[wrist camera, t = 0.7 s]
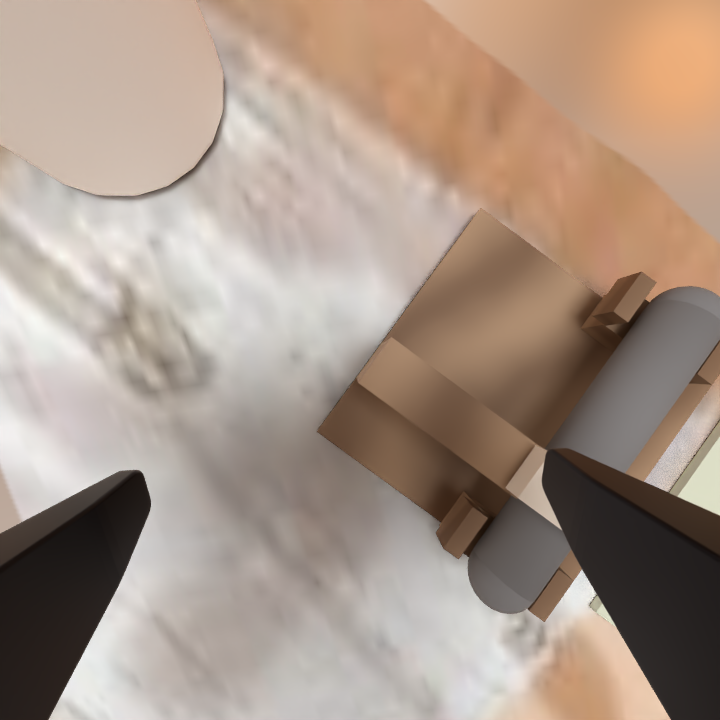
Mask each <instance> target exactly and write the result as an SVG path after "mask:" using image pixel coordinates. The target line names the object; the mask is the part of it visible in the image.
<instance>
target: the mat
mask: <svg viewBox="0 0 720 720" xmlns="http://www.w3.org/2000/svg"><path fill="white" fill-rule="evenodd" d="M669 493H670V494H673V495H675V496H677V497H679V498H682V499H684V500H686V501H688V502H691V503H693V504H695V505H697V506H700V507H702V508H704V509H706V510H709V511H711V512H713V513H715V514H718V515H720V421H719V422H718V424H717V425H716V427H715V428H714V430H713V431H712V432H711V434H710V435H709V437H708V438H707V439H706V441H705V442H704V444H703V445H702V447H701V448H700V449H699V451H698V452H697V454H696V455H695V457H694V458H693V459H692V461H691V462H690V464H689V465H688V466H687V468H686V469H685V471H684V472H683V474H682V475H681V476H680V478H679V479H678V481H677V482H676V484H675V485H674V486H673V488H672V489H671V491H670V492H669ZM590 607H591V608H592V609H593V610H594V611H595V612H596V613H597V614H599V615H600V616H601V617H603V618H604V619H606V620H607V621H608V622H610V623H611V624H612V625H614V626H615V624H614V622H613V621H612V619H611V617H610V616H609V614H608V612H607V610H606V609H605V607H604V605H603V604H602V602H601V600H600V599H599V597H598V595H597V596H596V597H595V599H594V600H593V601H592V603H591V604H590ZM615 627H616V626H615ZM616 628H617V627H616Z"/></svg>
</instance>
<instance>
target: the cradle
mask: <svg viewBox="0 0 720 720" xmlns="http://www.w3.org/2000/svg"><path fill="white" fill-rule="evenodd" d="M655 284H656V282H655V281H654V280H652V279H651V278H650V277H648V276H647V275H646V274H644V273H643V272H639V273H636V274H633V275H630V276H627V277H623V278H620V279H618V280H617V281H616V283H615V284H614V286H613V287H612V288H611V290H610V291H609V293H608V294H607V295H604V296H603V298H602V297H600V296H599V295H598V294H596V293H595V292H594V291H592V290H591V289H590V288H588V287H587V286H585V285H584V284H583V283H581V282H580V281H579V280H577V279H576V278H575V277H573V276H572V275H571V274H569V273H568V272H567V271H565V270H564V269H563V268H561V267H560V266H559V265H557V264H556V263H555V262H553V261H552V260H550V259H549V258H548V257H546V256H545V255H544V254H542V253H541V252H540V251H538V250H537V249H536V248H534V247H533V246H532V245H530V244H529V243H528V242H526V241H525V240H524V239H522V238H521V237H520V236H518V235H517V234H515V233H514V232H513V231H511V230H510V229H509V228H507V227H506V226H505V225H503V224H502V223H501V222H499V221H498V220H497V219H495V218H494V217H493V216H491V215H490V214H489V213H487V212H486V211H485V210H483V209H482V208H480V210H479V211H478V212H477V213H476V215H475V216H474V217H473V219H472V220H471V221H470V223H469V224H468V225H467V227H466V228H465V230H464V231H463V232H462V234H461V235H460V236H459V238H458V239H457V240H456V242H455V243H454V245H453V246H452V247H451V249H450V250H449V251H448V253H447V254H446V255H445V257H444V258H443V260H442V261H441V262H440V264H439V265H438V266H437V268H436V269H435V270H434V272H433V273H432V275H431V276H430V277H429V279H428V280H427V281H426V283H425V284H424V285H423V287H422V288H421V290H420V291H419V292H418V294H417V295H416V296H415V298H414V299H413V300H412V302H411V303H410V305H409V306H408V307H407V309H406V310H405V311H404V313H403V314H402V315H401V317H400V318H399V320H398V321H397V322H396V324H395V325H394V326H393V328H392V329H391V330H390V332H389V333H388V335H387V336H386V337H385V339H384V340H383V341H382V343H381V344H380V345H379V347H378V348H377V350H376V351H375V352H374V354H373V355H372V356H371V358H370V359H369V360H368V362H367V363H366V365H365V366H364V367H363V369H362V370H361V371H360V373H359V374H358V375H357V377H356V378H355V380H354V381H353V382H352V384H351V385H350V386H349V388H348V389H347V390H346V392H345V393H344V395H343V396H342V397H341V399H340V400H339V401H338V403H337V404H336V405H335V407H334V408H333V410H332V411H331V412H330V414H329V415H328V416H327V418H326V419H325V420H324V422H323V423H322V425H321V426H320V427H319V429H318V431H317V432H318V433H320V434H321V435H322V436H324V437H325V438H326V439H328V440H329V441H330V442H332V443H333V444H335V445H336V446H337V447H339V448H340V449H341V450H343V451H344V452H346V453H347V454H348V455H350V456H351V457H352V458H354V459H355V460H356V461H358V462H359V463H361V464H362V465H363V466H365V467H366V468H367V469H369V470H370V471H372V472H373V473H374V474H376V475H377V476H378V477H380V478H381V479H382V480H384V481H385V482H387V483H388V484H389V485H391V486H392V487H393V488H395V489H396V490H398V491H399V492H400V493H402V494H403V495H404V496H406V497H407V498H408V499H410V500H411V501H413V502H414V503H415V504H417V505H418V506H419V507H421V508H422V509H424V510H425V511H426V512H428V513H429V514H430V515H432V516H433V517H435V518H436V519H437V520H439V521H440V522H441V523H440V524H439V526H440V528H439V529H438V530H437V532H436V534H437V536H438V539H439V541H440V543H441V545H442V547H443V548H444V549H445V550H446V551H448V552H449V553H451V554H452V555H453V556H455V557H456V558H457V559H459V558H460V557H461V555H462V554H463V553H464V554H465V555H467V556H468V557H470V554H471V552H472V550H473V548H474V547H475V545H476V544H477V542H478V541H479V540H480V538H481V537H482V535H483V534H484V533H485V531H486V530H487V528H488V527H489V526H490V524H491V523H492V521H493V520H494V519H495V517H496V516H497V514H498V513H499V512H500V510H501V509H502V508H503V506H504V505H505V503H506V502H507V501H508V499H509V498H510V496H511V495H512V496H513V497H515V498H516V499H517V497H516V496H515V495H514V494H512V493H511V492H510V491H509V490H507V489H506V488H505V487H506V486H507V485H508V483H509V482H510V480H511V479H512V478H513V476H514V475H515V473H516V472H517V471H518V469H519V468H520V466H521V465H522V464H523V462H524V461H525V459H526V458H527V457H528V455H529V454H530V452H531V451H532V450H533V448H534V447H535V445H536V446H538V447H541V448H543V449H545V447H546V446H547V445H548V443H549V442H550V440H551V439H552V438H553V436H554V435H555V433H556V432H557V431H558V429H559V428H560V426H561V425H562V424H563V422H564V421H565V419H566V418H567V417H568V415H569V414H570V412H571V411H572V410H573V408H574V407H575V405H576V404H577V403H578V401H579V400H580V398H581V397H582V396H583V394H584V393H585V391H586V390H587V389H588V387H589V386H590V384H591V383H592V382H593V380H594V379H595V377H596V376H597V375H598V373H599V372H600V371H601V369H602V368H603V366H604V365H605V364H606V362H607V361H608V359H609V358H610V357H611V355H612V354H613V352H614V351H615V350H616V348H617V347H618V345H619V344H620V343H621V341H622V340H623V338H624V337H625V336H626V334H627V333H628V331H629V330H630V329H631V327H632V326H633V324H634V323H635V322H636V320H637V319H638V317H639V316H640V315H641V313H642V312H643V310H644V309H645V308H646V306H647V305H648V304H649V302H648V301H647V300H645V298H646V297H647V295H648V294H649V293H650V291H651V290H652V288H653V287H654V286H655ZM719 374H720V340H719V341H718V343H717V344H716V346H715V347H714V348H713V350H712V351H711V353H710V354H709V355H708V357H707V358H706V360H705V361H704V363H703V364H702V365H701V367H700V368H699V370H698V371H697V372H696V374H695V375H694V377H693V378H692V380H691V381H690V382H689V384H688V385H687V387H686V388H685V389H684V391H683V392H682V394H681V395H680V396H679V398H678V399H677V401H676V402H675V404H674V405H673V406H672V408H671V409H670V411H669V412H668V413H667V415H666V416H665V418H664V419H663V420H662V422H661V423H660V425H659V426H658V428H657V429H656V430H655V432H654V433H653V435H652V436H651V437H650V439H649V440H648V442H647V443H646V444H645V446H644V447H643V449H642V450H641V452H640V453H639V454H638V456H637V457H636V459H635V460H634V461H633V463H632V464H631V466H630V467H629V468H628V470H627V471H626V473H625V474H628V475H630V476H632V477H634V478H637V479H639V480H641V481H643V482H644V480H645V479H646V478H647V476H648V475H649V473H650V472H651V470H652V469H653V468H654V466H655V465H656V463H657V462H658V461H659V459H660V458H661V456H662V455H663V453H664V452H665V451H666V449H667V448H668V446H669V445H670V444H671V442H672V441H673V439H674V438H675V437H676V435H677V434H678V432H679V431H680V429H681V428H682V427H683V425H684V424H685V422H686V421H687V420H688V418H689V417H690V415H691V414H692V412H693V411H694V410H695V408H696V407H697V405H698V404H699V403H700V401H701V400H702V398H703V397H704V395H705V394H706V393H707V391H708V390H709V388H710V387H711V386H712V384H713V383H714V381H715V380H716V379H717V377H718V376H719ZM581 570H582V568H581V566H580V565H579V563H578V561H577V559H576V558H575V556H574V554H573V552H572V550H570V552H569V553H568V555H567V556H566V557H565V559H564V560H563V562H562V563H561V564H560V566H559V567H558V569H557V570H556V572H555V573H554V574H553V576H552V577H551V579H550V580H549V581H548V583H547V584H546V586H545V587H544V588H543V590H542V591H541V593H540V594H539V596H538V597H537V598H536V600H535V601H534V602H533V603H532V604H531V605H530V607H529V608H528V610H529V611H530V612H531V613H533V614H534V615H536V616H537V617H538V618H540V619H541V620H542V621H544V622H545V621H546V619H547V618H548V616H549V615H550V614H551V612H552V611H553V609H554V608H555V607H556V605H557V604H558V602H559V601H560V599H561V598H562V597H563V595H564V594H565V592H566V591H567V590H568V588H569V587H570V585H571V584H572V582H573V581H574V579H575V578H576V577H577V575H578V574H579V572H580V571H581Z"/></svg>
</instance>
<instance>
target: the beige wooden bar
mask: <svg viewBox="0 0 720 720" xmlns="http://www.w3.org/2000/svg"><path fill="white" fill-rule="evenodd" d="M546 452H547V450H545V449H543V448H541V447H538V446H536V445H535V447H534V448H533V450H532V451H531V452H530V454H529V455H528V457H527V458H526V459H525V461H524V462H523V464H522V465H521V466H520V468H519V469H518V471H517V472H516V473H515V475H514V476H513V478H512V479H511V480H510V482H509V483H508V485H507V486H506V487H505V488H506V489H507V490H509V491H510V492H511V493H512V494H514V495H515V496H516V497H517V498H519V499H520V500H521V501H523V502H524V503H525V504H527V505H528V506H529V507H531V508H532V509H534V510H535V511H536V512H538V513H539V514H540V515H542V516H543V517H544V518H546V519H547V520H549V521H550V522H551V523H553V524H554V525H555V526H557V527H558V528H559V529H561V527H560V525H559V523H558V520H557V518H556V516H555V514H554V512H553V510H552V507H551V505H550V503H549V501H548V499H547V497H546V495H545V492H544V490H543V487H542V473H543V467H544V461H545V455H546ZM561 530H562V529H561Z"/></svg>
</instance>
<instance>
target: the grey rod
mask: <svg viewBox="0 0 720 720" xmlns="http://www.w3.org/2000/svg"><path fill="white" fill-rule="evenodd" d="M719 340H720V297H719V296H718V295H717V294H715V293H713V292H712V291H709V290H707V289H704V288H700V287H692V286H689V287H677V288H673V289H670V290H667V291H665V292H663V293H661V294H659V295H658V296H656V297H655V298H654V299H652V301H651V302H650V303H649V304H648V305H647V306H646V308H645V309H644V310H643V312H642V313H641V315H640V316H639V317H638V319H637V320H636V322H635V323H634V324H633V326H632V327H631V329H630V330H629V331H628V333H627V334H626V336H625V337H624V338H623V340H622V341H621V343H620V344H619V345H618V347H617V348H616V350H615V351H614V352H613V354H612V355H611V357H610V358H609V359H608V361H607V362H606V364H605V365H604V366H603V368H602V369H601V371H600V372H599V373H598V375H597V376H596V377H595V379H594V380H593V382H592V383H591V384H590V386H589V387H588V389H587V390H586V391H585V393H584V394H583V396H582V397H581V398H580V400H579V401H578V403H577V404H576V405H575V407H574V408H573V410H572V411H571V412H570V414H569V415H568V417H567V418H566V419H565V421H564V422H563V424H562V425H561V426H560V428H559V429H558V431H557V432H556V433H555V435H554V436H553V438H552V439H551V440H550V442H549V443H548V445H547V446H546V447H545V450H547V451H548V450H549V449H551V448H569V449H571V450H574V451H576V452H578V453H580V454H583V455H585V456H587V457H589V458H592V459H594V460H596V461H598V462H601V463H603V464H605V465H607V466H610V467H612V468H614V469H616V470H619V471H621V472H623V473H626V471H627V470H628V468H629V467H630V466H631V464H632V463H633V461H634V460H635V459H636V457H637V456H638V454H639V453H640V452H641V450H642V449H643V447H644V446H645V444H646V443H647V442H648V440H649V439H650V437H651V436H652V435H653V433H654V432H655V430H656V429H657V428H658V426H659V425H660V423H661V422H662V420H663V419H664V418H665V416H666V415H667V413H668V412H669V411H670V409H671V408H672V406H673V405H674V404H675V402H676V401H677V399H678V398H679V396H680V395H681V394H682V392H683V391H684V389H685V388H686V387H687V385H688V384H689V382H690V381H691V380H692V378H693V377H694V375H695V374H696V372H697V371H698V370H699V368H700V367H701V365H702V364H703V363H704V361H705V360H706V358H707V357H708V355H709V354H710V353H711V351H712V350H713V348H714V347H715V346H716V344H717V343H718V341H719ZM570 550H571V548H570V546H569V544H568V542H567V540H566V538H565V535H564V533H563V531H562V530H561V529H559V528H558V527H557V526H555V525H554V524H553V523H551V522H550V521H549V520H547V519H546V518H544V517H543V516H542V515H540V514H539V513H538V512H536V511H535V510H534V509H532V508H531V507H529V506H528V505H527V504H525V503H524V502H523V501H521V500H520V499H519V498H517V499H516V498H515V497H513V496H512V495H511V496H510V498H509V499H508V501H507V502H506V503H505V505H504V506H503V508H502V509H501V510H500V512H499V513H498V514H497V516H496V517H495V519H494V520H493V521H492V523H491V524H490V526H489V527H488V528H487V530H486V531H485V533H484V534H483V535H482V537H481V538H480V540H479V541H478V542H477V544H476V545H475V547H474V548H473V550H472V552H471V554H470V557H469V560H468V576H469V580H470V583H471V586H472V588H473V590H474V592H475V593H476V595H477V596H478V597H479V598H480V600H481V601H482V602H483V603H484V604H486V605H487V606H488V607H490V608H491V609H493V610H496V611H498V612H501V613H506V614H514V613H519V612H522V611H524V610H525V609H527V608H529V607H530V605H531V604H532V603H533V602H534V601H535V600H536V598H537V597H538V596H539V594H540V593H541V591H542V590H543V588H544V587H545V586H546V584H547V583H548V581H549V580H550V579H551V577H552V576H553V574H554V573H555V572H556V570H557V569H558V567H559V566H560V564H561V563H562V562H563V560H564V559H565V557H566V556H567V555H568V553H569V552H570Z"/></svg>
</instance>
